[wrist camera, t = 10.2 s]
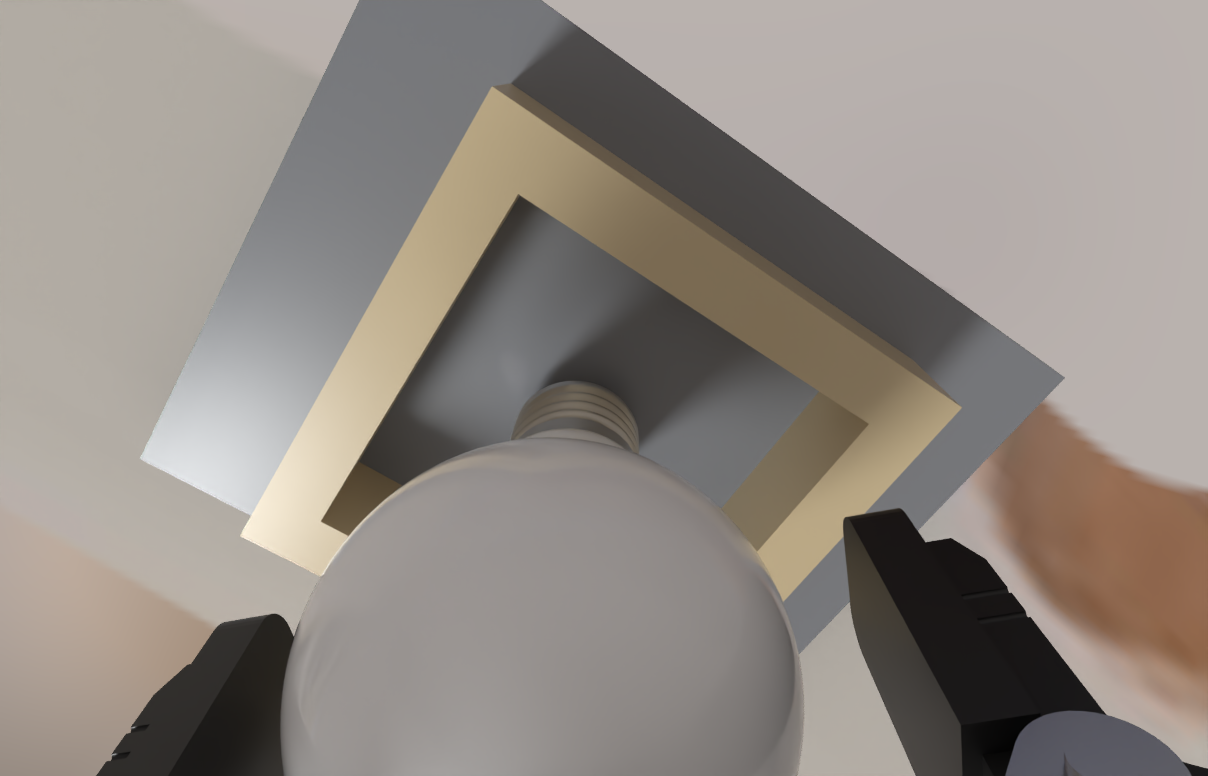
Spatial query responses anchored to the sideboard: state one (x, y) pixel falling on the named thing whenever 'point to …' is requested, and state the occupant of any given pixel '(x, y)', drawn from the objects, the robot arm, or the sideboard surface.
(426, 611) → the lightbulb
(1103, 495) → the sideboard surface
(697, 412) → the bulb socket
